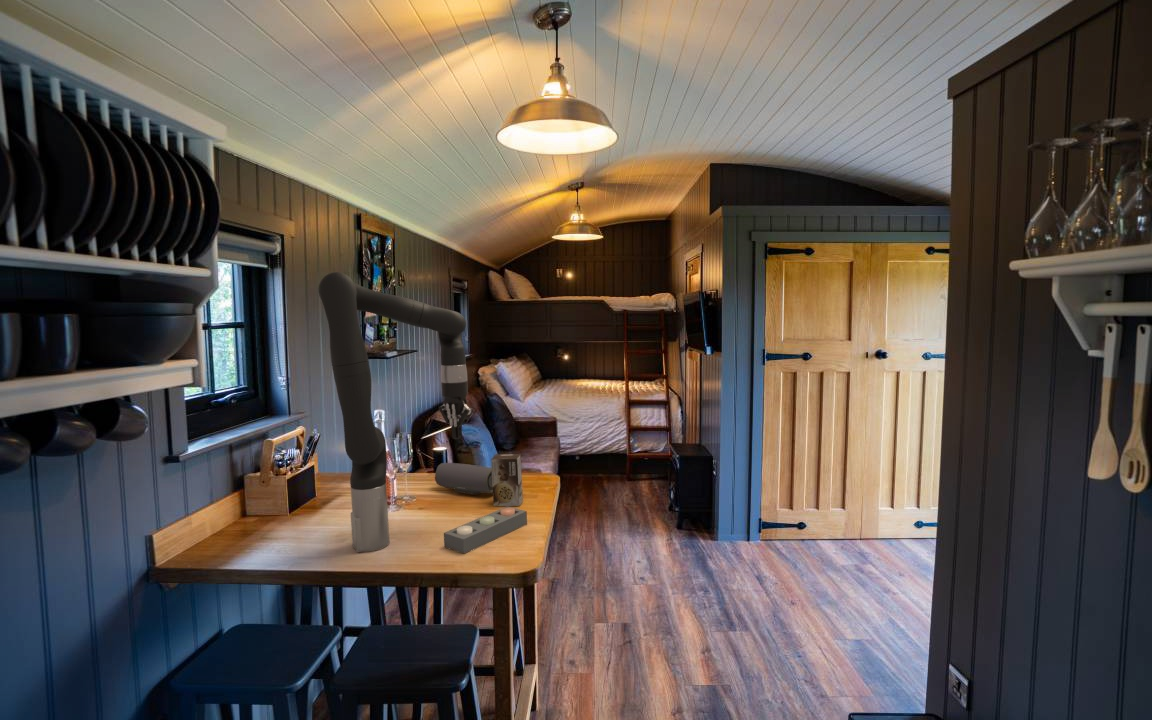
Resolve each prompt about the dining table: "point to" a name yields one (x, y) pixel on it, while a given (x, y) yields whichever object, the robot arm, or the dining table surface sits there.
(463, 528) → the cream button
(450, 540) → the button panel
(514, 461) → the coffee box
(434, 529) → the dining table surface
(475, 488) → the bluetooth speaker
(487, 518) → the sage button
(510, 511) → the terracotta button
